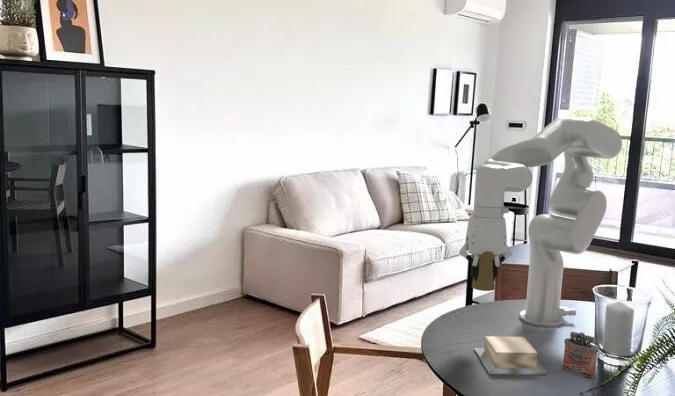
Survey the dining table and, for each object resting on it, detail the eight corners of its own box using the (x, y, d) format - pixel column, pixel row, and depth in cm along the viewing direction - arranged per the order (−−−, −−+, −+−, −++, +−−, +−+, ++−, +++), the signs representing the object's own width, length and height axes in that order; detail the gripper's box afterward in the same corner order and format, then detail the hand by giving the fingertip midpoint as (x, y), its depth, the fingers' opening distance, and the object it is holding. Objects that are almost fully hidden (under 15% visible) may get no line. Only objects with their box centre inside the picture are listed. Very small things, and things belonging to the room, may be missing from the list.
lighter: (559, 369, 153) (563, 330, 152) (565, 365, 156) (569, 327, 154) (591, 381, 148) (596, 340, 146) (598, 376, 150) (602, 337, 148)
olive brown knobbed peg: (495, 291, 165) (498, 250, 163) (471, 289, 166) (474, 249, 164) (494, 285, 170) (497, 245, 169) (471, 283, 172) (474, 243, 170)
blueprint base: (527, 350, 164) (528, 334, 163) (547, 374, 150) (548, 356, 150) (474, 350, 164) (475, 333, 163) (489, 374, 150) (490, 355, 149)
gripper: (515, 209, 169) (510, 275, 172) (453, 208, 168) (449, 275, 171) (524, 215, 161) (519, 284, 164) (459, 214, 161) (455, 283, 164)
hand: (483, 278), depth 168 cm, fingers closed on olive brown knobbed peg, 4 cm apart
